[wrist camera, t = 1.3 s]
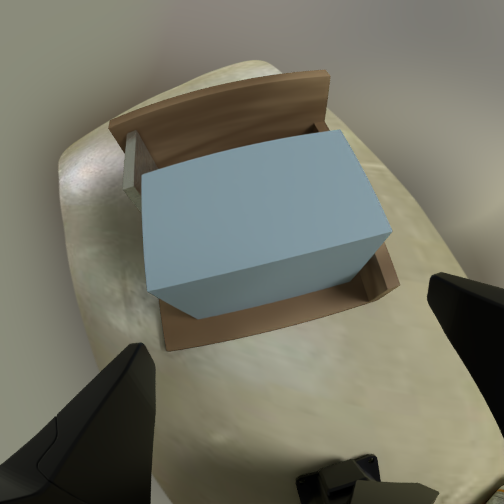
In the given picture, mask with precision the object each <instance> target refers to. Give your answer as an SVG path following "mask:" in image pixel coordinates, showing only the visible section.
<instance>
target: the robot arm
mask: <svg viewBox="0 0 504 504" xmlns="http://www.w3.org/2000/svg"><path fill="white" fill-rule="evenodd" d="M427 301H428V304H429V306H430V307H431V309H432V311H433V313H434V314H435V316H436V318H437V320H438V322H439V323H440V325H441V327H442V329H443V331H444V333H445V334H446V336H447V338H448V339H449V341H450V343H451V344H452V346H453V347H454V349H455V350H456V352H457V353H458V355H459V357H460V358H461V360H462V361H463V363H464V365H465V366H466V368H467V369H468V371H469V373H470V374H471V376H472V378H473V380H474V381H475V383H476V385H477V386H478V388H479V390H480V392H481V394H482V395H483V397H484V399H485V401H486V403H487V405H488V407H489V409H490V410H491V412H492V414H493V416H494V418H495V420H496V422H497V424H498V427H499V429H500V431H501V433H502V436H503V438H504V289H503V288H499V287H496V286H492V285H488V284H485V283H481V282H477V281H474V280H470V279H466V278H462V277H459V276H455V275H451V274H447V273H443V272H440V273H437V274H434V275H432V276H431V278H430V281H429V288H428V294H427ZM155 374H156V369H155V364H154V361H153V359H152V358H151V356H150V354H149V352H148V350H147V348H146V346H145V345H144V344H143V343H132V344H129V345H128V346H127V347H126V348H125V349H124V350H123V351H122V352H121V353H120V354H119V355H118V356H117V357H116V358H114V359H113V360H112V361H111V362H110V363H109V364H108V365H107V366H106V367H105V368H104V369H103V370H102V371H101V372H100V373H99V374H98V375H97V376H96V377H95V378H94V379H93V380H92V381H91V382H90V383H89V384H88V385H87V386H86V387H85V388H83V389H82V391H80V392H79V394H77V395H76V396H75V397H74V398H73V399H72V400H71V401H70V402H69V403H68V404H67V405H66V406H65V407H64V408H63V409H62V410H61V411H60V412H59V413H58V414H57V417H54V418H53V419H52V420H51V421H50V422H49V423H48V424H47V425H46V426H45V427H44V428H43V429H42V430H41V431H40V432H39V433H38V434H37V435H36V436H34V437H33V438H32V439H31V440H30V441H29V442H28V443H26V444H25V445H24V446H23V447H22V448H20V449H19V450H18V451H17V452H16V453H14V454H13V455H12V456H11V457H10V458H9V459H7V460H6V461H5V462H4V463H2V464H1V465H0V504H150V503H151V470H152V452H153V438H154V426H155V413H156V394H155ZM371 458H373V460H372V461H371V462H368V461H369V459H371ZM300 480H305V482H303V483H300V482H299V481H300ZM296 486H297V490H298V493H299V497H300V501H301V504H433V503H434V502H435V500H436V498H437V496H438V495H439V492H438V491H436V490H433V489H431V488H429V487H426V486H424V485H422V484H420V483H394V482H381V480H380V473H379V466H378V460H377V457H376V456H375V455H374V454H369V455H367V456H364V457H361V458H359V459H356V460H352V459H350V460H347V461H344V462H341V463H338V464H335V465H332V466H328V467H325V468H322V469H320V470H319V471H317V472H314V473H310V474H306V475H302V476H299V477H297V478H296Z"/></svg>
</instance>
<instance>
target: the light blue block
mask: <svg viewBox="0 0 504 504" xmlns="http://www.w3.org/2000/svg"><path fill="white" fill-rule="evenodd" d="M142 229H143V248H144V262H145V274H146V284H147V292H149V293H150V294H152V295H154V296H156V297H157V298H159V299H161V300H163V301H165V302H166V303H168V304H170V305H172V306H174V307H176V308H177V309H179V310H181V311H183V312H185V313H187V314H189V315H191V316H192V317H194V318H196V319H203V318H208V317H212V316H217V315H221V314H226V313H230V312H235V311H239V310H244V309H248V308H252V307H256V306H260V305H265V304H269V303H273V302H277V301H281V300H285V299H288V298H292V297H296V296H300V295H304V294H307V293H311V292H315V291H319V290H322V289H326V288H329V287H333V286H336V285H340V284H343V283H347V282H350V281H351V280H352V279H353V278H354V277H355V275H356V274H357V273H358V272H359V271H360V270H361V269H362V267H363V266H364V265H365V264H366V263H367V262H368V260H369V259H370V258H371V257H372V256H373V255H374V253H375V252H376V251H377V250H378V249H379V247H380V246H381V245H382V244H383V242H384V241H385V240H386V239H387V238H388V236H389V235H390V234H391V233H392V229H391V227H390V224H389V222H388V220H387V218H386V215H385V213H384V211H383V209H382V207H381V205H380V202H379V200H378V198H377V196H376V194H375V192H374V190H373V188H372V186H371V184H370V182H369V180H368V178H367V176H366V174H365V172H364V171H363V169H362V167H361V165H360V163H359V161H358V159H357V158H356V156H355V154H354V152H353V150H352V149H351V147H350V145H349V144H348V142H347V140H346V138H345V137H344V135H343V133H342V132H341V130H333V131H325V132H318V133H312V134H305V135H299V136H293V137H288V138H282V139H277V140H272V141H267V142H262V143H257V144H252V145H248V146H243V147H239V148H234V149H230V150H226V151H222V152H218V153H214V154H210V155H206V156H203V157H199V158H195V159H192V160H188V161H185V162H181V163H178V164H174V165H171V166H168V167H165V168H161V169H158V170H155V171H152V172H149V173H146V174H143V175H142Z"/></svg>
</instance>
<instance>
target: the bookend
mask: <svg viewBox="0 0 504 504" xmlns="http://www.w3.org/2000/svg"><path fill="white" fill-rule="evenodd" d="M155 170H158V167H157V166H156V164H155V162H154V160H153V159H152V157H151V155H150V153H149V151H148V150H147V148H146V146H145V144H144V143H143V141H142V139H141V137H140V135H139V133H138V132H137V130H135V131H132V132H130V133H127V139H126V149H125V160H124V174H123V191H124V192H125V193H126V195H127V196H128V197H129V198H130V199H131V201H132V202H133V203H134V204H135V205H136V207H137V208H138V209H139V210H140V211H141V213H142V175H143V174H146V173H149V172H152V171H155Z"/></svg>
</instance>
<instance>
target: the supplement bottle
mask: <svg viewBox="0 0 504 504" xmlns="http://www.w3.org/2000/svg"><path fill="white" fill-rule="evenodd" d="M486 504H504V485H503V486H501V487H500V488H499V489H498V490H497V491H496V493H495V494H494V495H493V496H492V497H491V498H490V499H489V501H488V502H487V503H486Z"/></svg>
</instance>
